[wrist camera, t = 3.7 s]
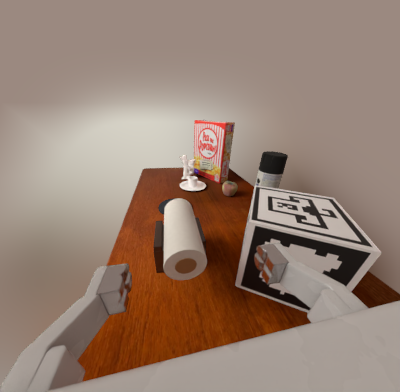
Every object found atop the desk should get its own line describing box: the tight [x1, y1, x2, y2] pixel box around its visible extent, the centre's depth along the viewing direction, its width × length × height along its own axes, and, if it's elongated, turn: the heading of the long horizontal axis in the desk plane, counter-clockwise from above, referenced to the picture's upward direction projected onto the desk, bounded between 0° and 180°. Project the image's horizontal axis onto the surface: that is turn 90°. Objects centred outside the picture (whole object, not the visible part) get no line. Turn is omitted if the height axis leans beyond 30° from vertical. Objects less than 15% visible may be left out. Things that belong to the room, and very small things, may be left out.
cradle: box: [154, 218, 206, 273], centre depth 34 cm, size 10×8×7 cm
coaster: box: [159, 199, 174, 214], centre depth 54 cm, size 11×11×1 cm
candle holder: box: [180, 176, 206, 191], centre depth 69 cm, size 12×12×4 cm
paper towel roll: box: [163, 199, 207, 280], centre depth 29 cm, size 6×15×6 cm, turn 11°
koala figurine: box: [179, 155, 196, 179], centre depth 77 cm, size 8×7×12 cm
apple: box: [222, 181, 238, 196], centre depth 63 cm, size 6×8×6 cm
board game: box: [194, 120, 235, 184], centre depth 77 cm, size 20×6×27 cm, turn 41°
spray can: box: [255, 152, 287, 189], centre depth 48 cm, size 7×7×20 cm
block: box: [235, 185, 381, 313], centre depth 30 cm, size 15×15×15 cm
